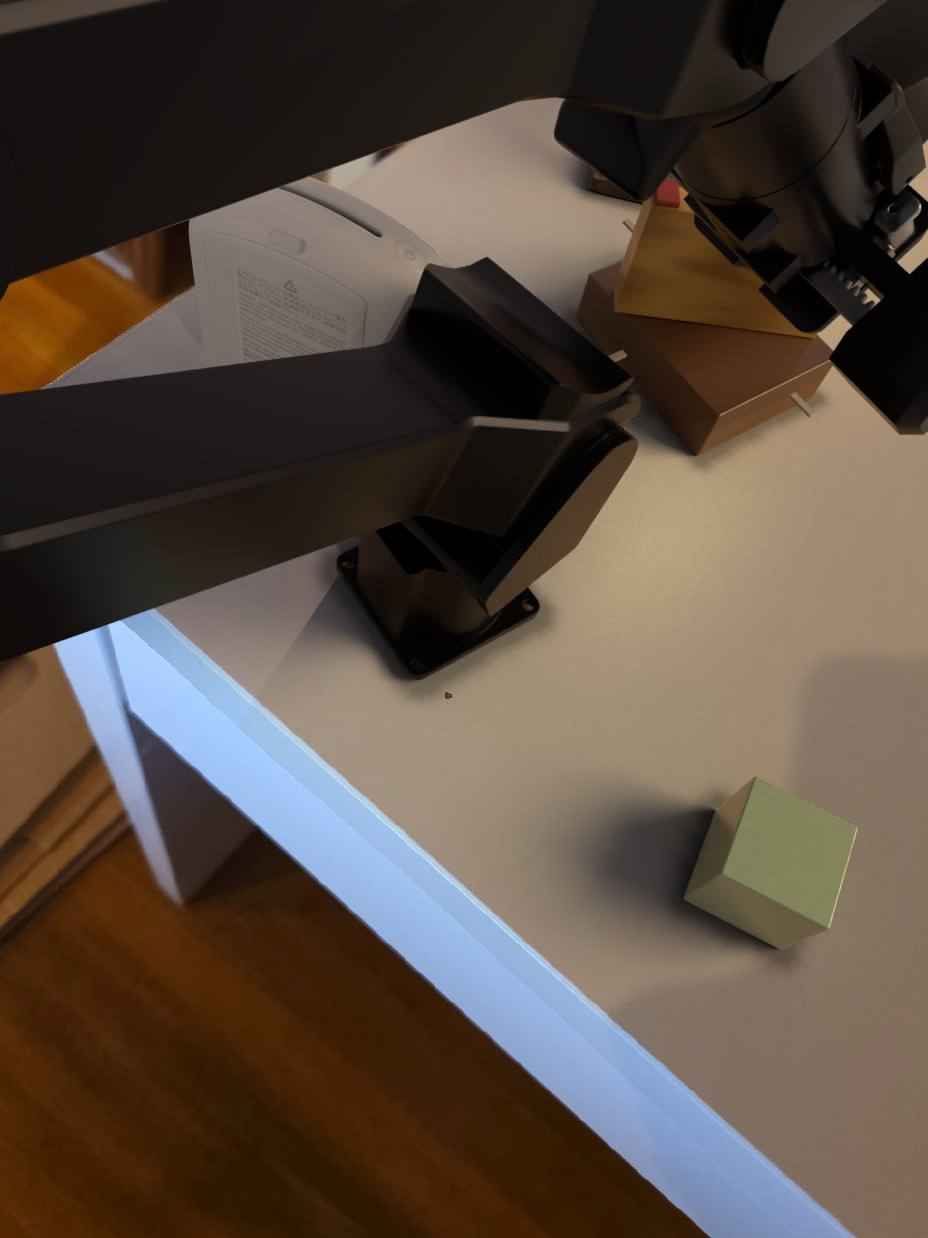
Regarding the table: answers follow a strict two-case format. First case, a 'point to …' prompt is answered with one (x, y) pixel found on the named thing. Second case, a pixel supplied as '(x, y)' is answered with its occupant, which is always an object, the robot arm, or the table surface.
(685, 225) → the wooden rectangular block
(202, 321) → the photo printer
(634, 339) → the block
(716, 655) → the table surface
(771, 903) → the cube
